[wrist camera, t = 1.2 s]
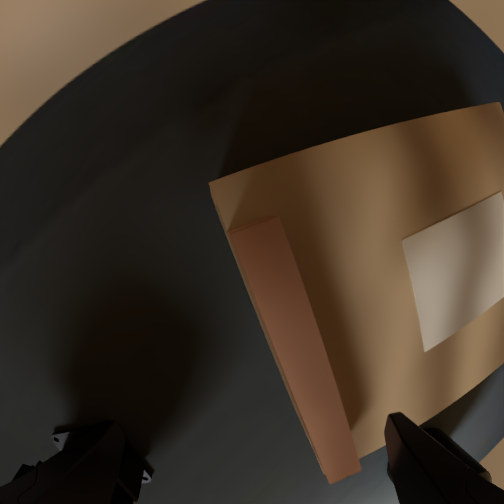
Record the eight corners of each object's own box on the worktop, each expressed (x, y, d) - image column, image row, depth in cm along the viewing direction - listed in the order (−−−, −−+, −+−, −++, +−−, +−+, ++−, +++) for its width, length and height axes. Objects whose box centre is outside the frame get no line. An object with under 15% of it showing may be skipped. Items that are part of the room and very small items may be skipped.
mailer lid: (320, 468, 15) (338, 504, 12) (208, 184, 13) (207, 173, 10) (532, 328, 16) (560, 339, 13) (493, 104, 14) (527, 92, 11)
